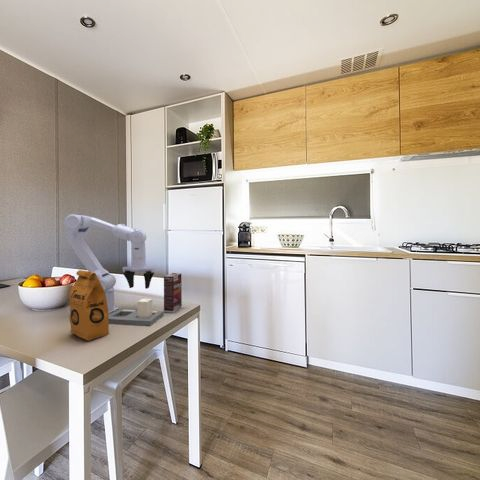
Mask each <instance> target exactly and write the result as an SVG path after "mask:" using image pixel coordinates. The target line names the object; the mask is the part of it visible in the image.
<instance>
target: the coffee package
mask: <svg viewBox="0 0 480 480" xmlns="http://www.w3.org/2000/svg"><path fill="white" fill-rule="evenodd" d="M75 275H76V276H78V277H77V279H76V281H75V282H74V284H73V286H72V287H71V289H70V292H69V313H70V314H69V316H68V319H69V324H70V332H71V334H73V335H75V336H77V337H78V338H81V339H83V340H86V341H88V342H90V341H92V340H94V339H95V340H96V339H99V338H100V337H102V338H103V337H106V336H107V335H109V333H110V330H109V327H110V326H109V325H110V324H109V323H108V318H109V314H110V313H109V311H108V306H107V300H106V294H105V292H104V289H103V287H102V285H101V283H100V281H99V279H98V277H97V275H96V273H93V272H90V271H88V270H83V269H82V270H81V269H79V270H78V271H76V274H75Z"/></svg>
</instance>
